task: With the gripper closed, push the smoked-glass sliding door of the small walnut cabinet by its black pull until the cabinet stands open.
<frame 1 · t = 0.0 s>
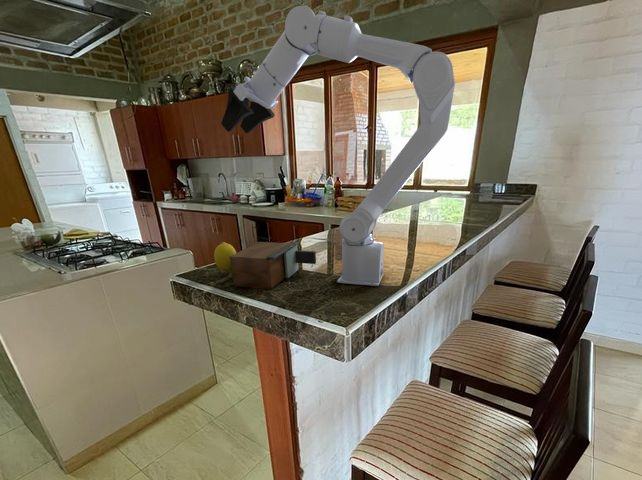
hand: (234, 128, 72), 32 cm above the countertop, tool tilted 50°, fingers open, 7 cm apart
lemon: (228, 274, 85), on the countertop
sliding door: (301, 261, 81), point 3 cm above the countertop, slide at 0.0 cm
cabinet: (265, 277, 81), on the countertop
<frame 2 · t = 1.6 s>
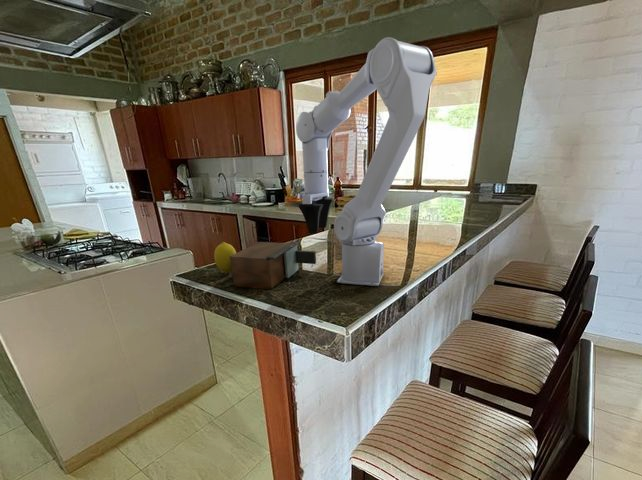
hand: (317, 230, 85), 9 cm above the countertop, tool pointing down, fingers open, 6 cm apart
nothing on the countertop moved.
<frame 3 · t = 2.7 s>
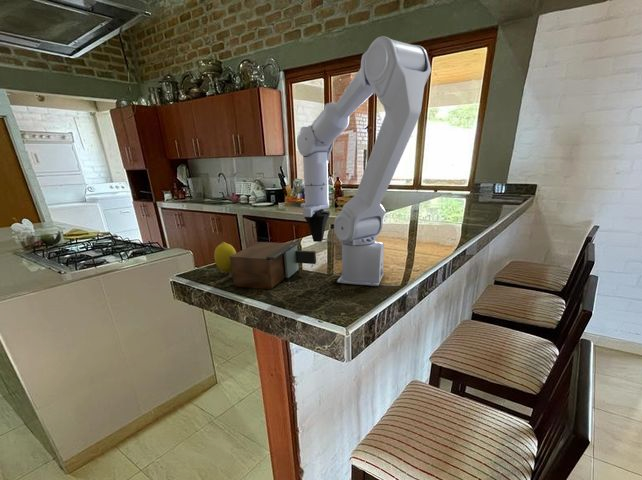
hand: (318, 241, 86), 7 cm above the countertop, tool pointing down, fingers closed
nothing on the countertop moved.
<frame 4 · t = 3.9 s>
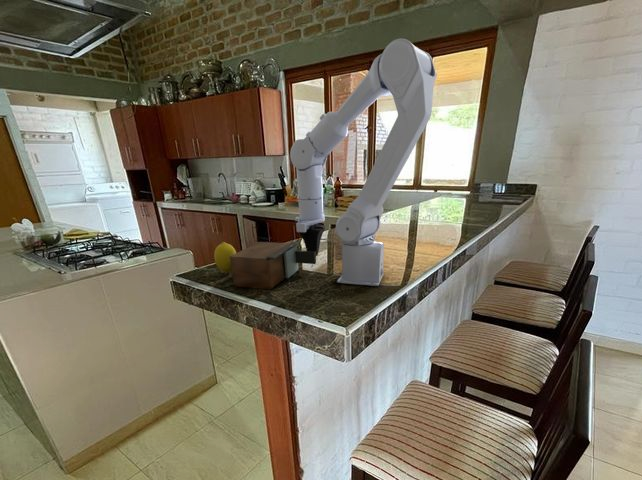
hand: (313, 255, 83), 4 cm above the countertop, tool pointing down, fingers closed
sliding door: (301, 261, 80), point 3 cm above the countertop, slide at 0.0 cm, touching gripper
everything else where it was.
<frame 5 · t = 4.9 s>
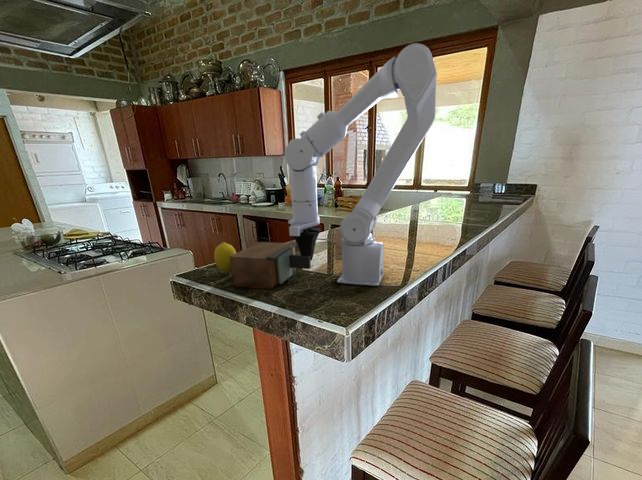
hand: (307, 260, 80), 4 cm above the countertop, tool pointing down, fingers closed
sliding door: (295, 266, 77), point 3 cm above the countertop, slide at 4.0 cm, touching gripper
everything else where it was.
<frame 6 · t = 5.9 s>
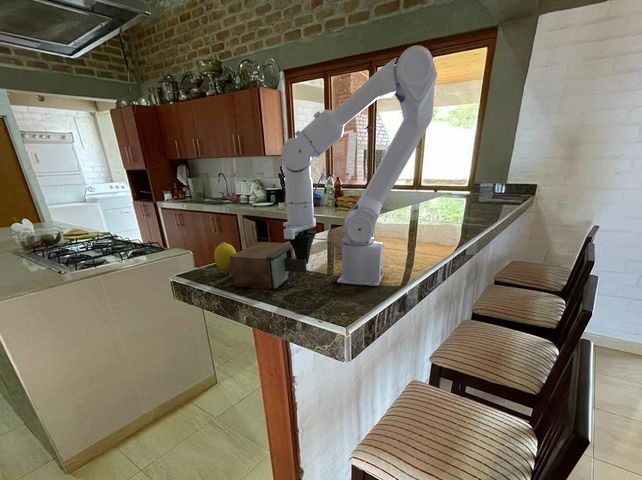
hand: (303, 263, 77), 4 cm above the countertop, tool pointing down, fingers closed
sliding door: (290, 270, 75), point 3 cm above the countertop, slide at 6.8 cm, touching gripper
everything else where it was.
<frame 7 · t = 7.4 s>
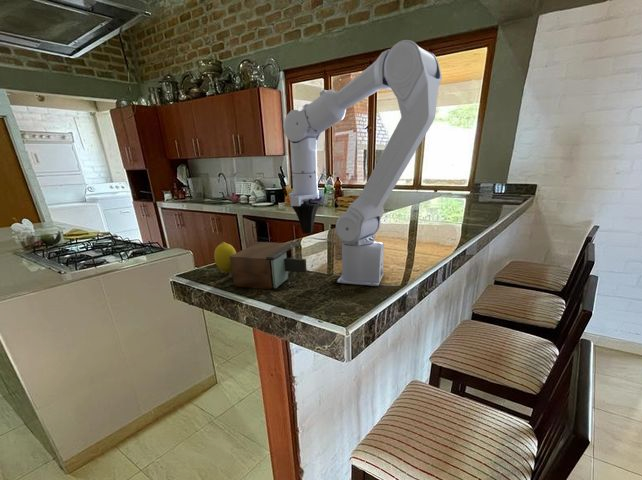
hand: (307, 232, 82), 9 cm above the countertop, tool pointing down, fingers closed
sliding door: (290, 270, 75), point 3 cm above the countertop, slide at 6.8 cm
everything else where it was.
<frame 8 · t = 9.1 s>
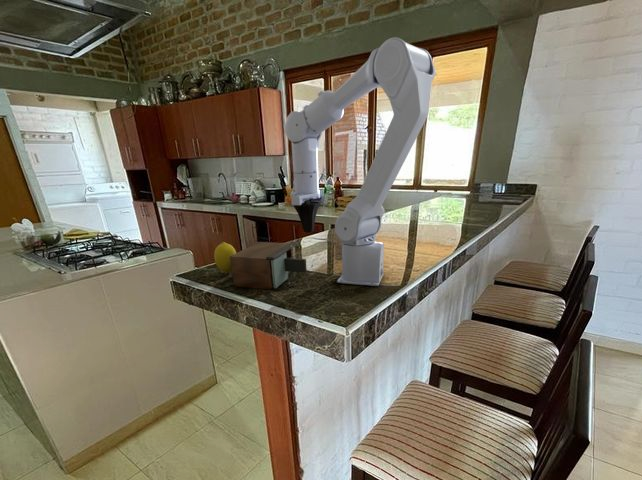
hand: (308, 231, 84), 9 cm above the countertop, tool pointing down, fingers closed
nothing on the countertop moved.
at the end: sliding door slide at 6.8 cm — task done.
